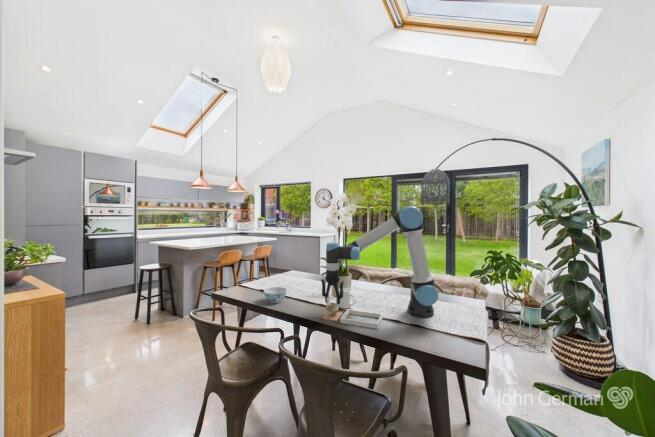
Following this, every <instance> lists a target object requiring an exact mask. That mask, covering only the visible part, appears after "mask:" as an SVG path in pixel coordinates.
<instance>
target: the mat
mask: <svg viewBox="0 0 655 437" xmlns="http://www.w3.org/2000/svg"><path fill="white" fill-rule="evenodd" d="M343 314H344V312H341V311H338V313H337V314H336V315H331V314H327V312H326V313H325V314H323V316H322V317H321V319H322V320H326V321H334V322H337V321H338V320H340V318H341V317H342V316H343Z"/></svg>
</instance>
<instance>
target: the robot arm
mask: <svg viewBox="0 0 655 437" xmlns="http://www.w3.org/2000/svg"><path fill="white" fill-rule="evenodd" d="M423 220H424V215H423V213H422V211H421V210H420V209H419V208H418V207H417V206H415V205H408V206H404V207H402V208H400V209H399V210H398V211H397V212H396V213H394V214H393V215H391V216H390V218H389V219H388V220H386V221H385V222H383V223H381V224H380V225H378V226H376V227H375V228H373V229H371V230H370V231H369V232H366V233H364V235H361V236H360V237H359V238H357V239H355V240H353V241H352V242H350V243H348V244H347V245H346V246H340V244H339V242H327V243H326V246H325V248H326V249H325V258H326V259H325V262H326V263H325V268H326V270H325V278H322V279H321V280H320V282H321V296H322V297H324V300H325V301H324V302H325V303H326V306H327V305H328V304H329V303H331V302H330V301H331V300H330V296H329V294H330V290H331V286H332V287H333V288H334V291H335V296H336V298H335V303H336V311H337V310H338V311H339V308H340V307H339V304H340V299H341V298H343V288H344V283H345V280H341V279H340V270H339V269H340V260H343V261H344V260H345V261H359V260H360V259H361V258H360V257H361V252H362V251H364V250H366V249H368V248H369V247H371V246H372V245H374V244H376V243H377V242H379V241H381V240H382V239H384V238H386V237H388V236H389V235H391V234H392V233H394V232H396V231H399V230H400V231H401V233H402V234H404V236H405V238H406V243H407V248H408V254H409V258H410V262H411V263H410V265H411V270H412V273H413V274H411V275H410V299H409V302H408V305H407V313H408V314H409V315H411V316H414V317H416V318H417V317H418V318H430V317H433V316H434V315H435V310H434V306H433V305H435V304H436V303H437V302H438V300H439V295H440V294H439V291H438V289H437V288H436V283H435V277H434V276H432V275H431V274H430V273H431V272H430V267H429V263H428V258H427V257H428V256H427V253H426V247H425V242H424V236H423V233H422V232H423V230H424V229H425V227H424V222H423ZM326 284H327V285H326ZM339 289H340V293H339Z"/></svg>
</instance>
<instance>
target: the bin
mask: <svg viewBox="0 0 655 437" xmlns="http://www.w3.org/2000/svg"><path fill="white" fill-rule="evenodd" d="M349 315H355V316H361V317H369V318H375V319H378V320H377V322H369V321H362V320H356V319H351V318H347V317H348V316H349ZM383 319H384V314H383V313H379V312H374V311H373V312H371V311H365V310H358V309H350V308H347V310H346V311H345V312H343V314H342V315H341V316H340V318H339V323H340V324H345V325H351V326H358V327H364V328H371V329H377V330H379V328H380V325H381V323H382V321H383Z"/></svg>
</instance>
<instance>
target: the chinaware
mask: <svg viewBox="0 0 655 437" xmlns="http://www.w3.org/2000/svg"><path fill="white" fill-rule="evenodd" d="M263 293H264V296H265V299H266V300H268V301H269V303H271V304H278V303H280V302H281V301H282V300H283V299H284V298H285V296H286V295H287V288H285V287H281V286H274V287H268V288H265V289H264V290H263Z"/></svg>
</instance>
